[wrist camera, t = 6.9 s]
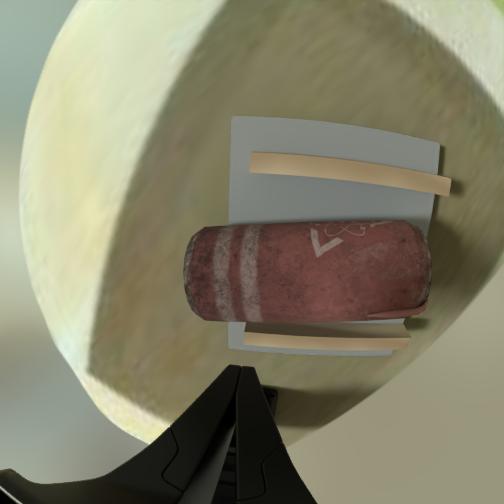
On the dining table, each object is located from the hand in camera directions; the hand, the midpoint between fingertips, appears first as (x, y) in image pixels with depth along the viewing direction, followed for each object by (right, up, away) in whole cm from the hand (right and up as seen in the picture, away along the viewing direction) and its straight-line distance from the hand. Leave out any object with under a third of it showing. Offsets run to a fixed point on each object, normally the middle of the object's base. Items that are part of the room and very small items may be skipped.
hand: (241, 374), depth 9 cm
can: (-3, +2, +10) cm, 11 cm away
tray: (+6, +4, +11) cm, 14 cm away
